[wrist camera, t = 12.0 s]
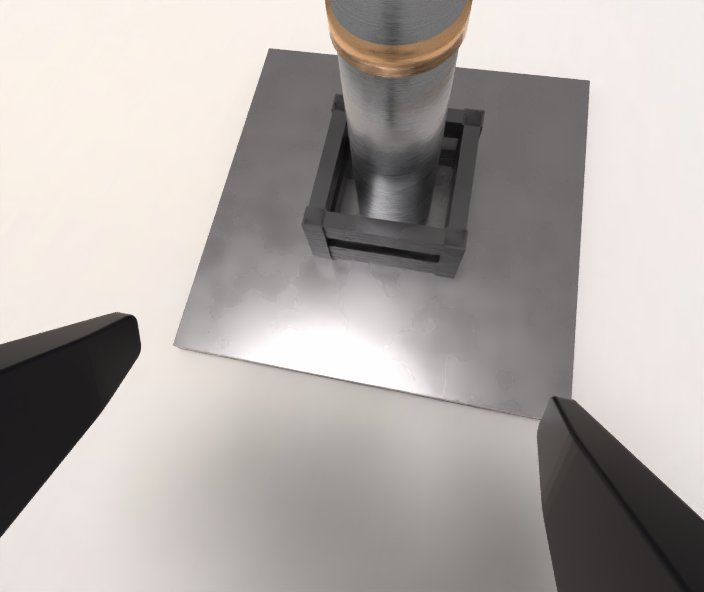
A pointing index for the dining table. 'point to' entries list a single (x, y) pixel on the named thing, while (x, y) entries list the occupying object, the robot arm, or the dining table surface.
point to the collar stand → (402, 244)
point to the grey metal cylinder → (396, 96)
